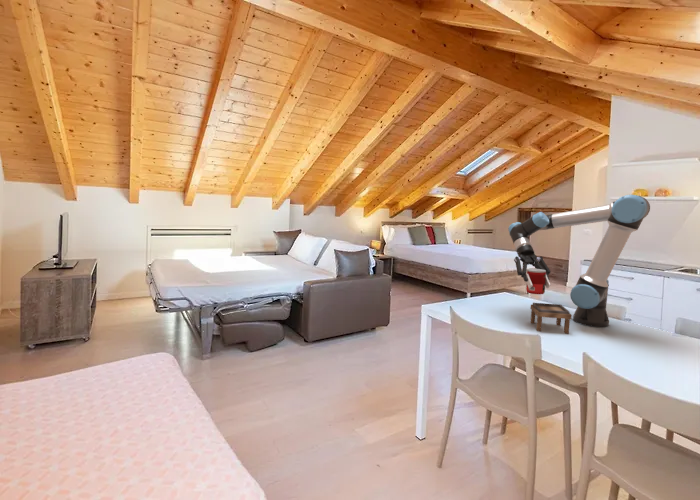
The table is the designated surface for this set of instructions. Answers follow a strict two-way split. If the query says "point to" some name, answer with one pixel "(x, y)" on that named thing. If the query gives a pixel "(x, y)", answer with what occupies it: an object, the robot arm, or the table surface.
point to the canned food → (536, 281)
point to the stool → (550, 314)
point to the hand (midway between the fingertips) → (539, 286)
